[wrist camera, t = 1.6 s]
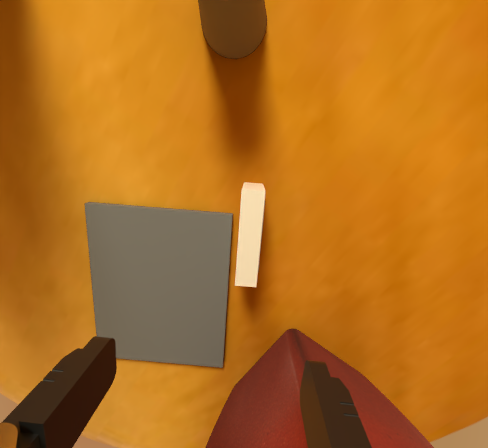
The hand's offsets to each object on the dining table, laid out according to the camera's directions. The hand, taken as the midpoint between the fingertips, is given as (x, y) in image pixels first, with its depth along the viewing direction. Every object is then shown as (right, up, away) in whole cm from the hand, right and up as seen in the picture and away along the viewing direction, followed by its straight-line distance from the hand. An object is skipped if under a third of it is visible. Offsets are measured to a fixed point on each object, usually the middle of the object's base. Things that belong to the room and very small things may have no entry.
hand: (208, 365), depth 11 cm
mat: (-8, -2, +20) cm, 22 cm away
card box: (+2, +6, +18) cm, 19 cm away
